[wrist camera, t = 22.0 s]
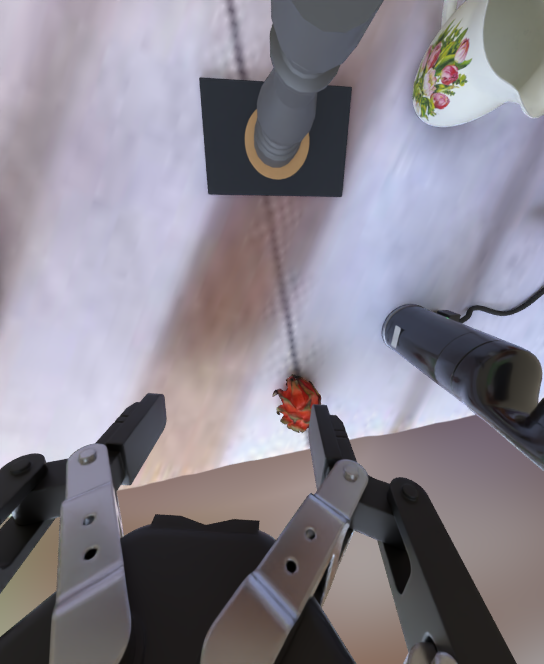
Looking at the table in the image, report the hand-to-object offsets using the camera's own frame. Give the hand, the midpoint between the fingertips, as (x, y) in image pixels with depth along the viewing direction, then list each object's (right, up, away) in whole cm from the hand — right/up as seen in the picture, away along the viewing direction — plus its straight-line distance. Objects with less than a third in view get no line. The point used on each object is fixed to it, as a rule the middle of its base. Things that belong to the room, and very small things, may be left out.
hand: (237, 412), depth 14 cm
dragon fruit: (+6, -8, +37) cm, 39 cm away
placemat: (+3, +31, +22) cm, 38 cm away
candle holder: (+2, +31, +21) cm, 37 cm away
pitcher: (+24, +39, +21) cm, 51 cm away
